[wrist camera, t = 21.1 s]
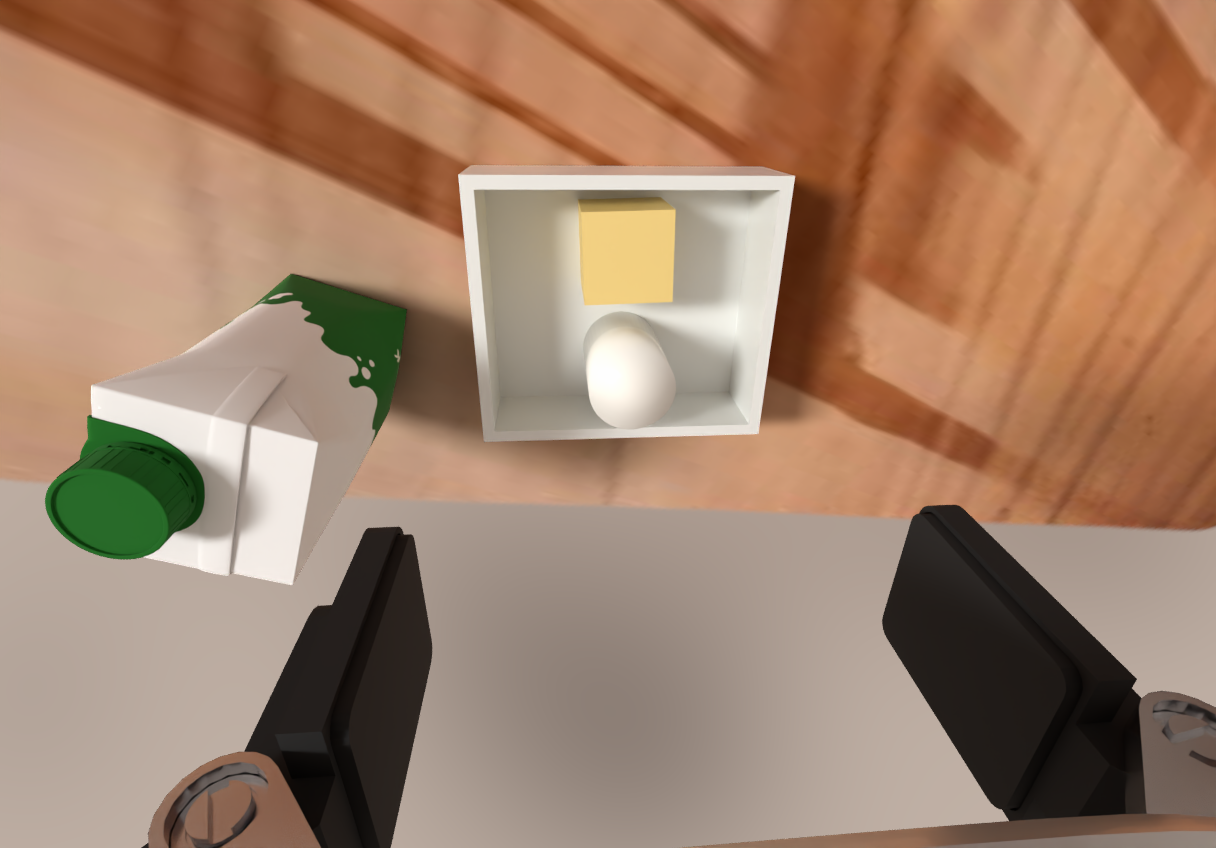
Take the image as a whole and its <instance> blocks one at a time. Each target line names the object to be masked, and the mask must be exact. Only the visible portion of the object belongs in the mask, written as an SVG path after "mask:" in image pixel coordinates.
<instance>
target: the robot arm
mask: <svg viewBox="0 0 1216 848" xmlns="http://www.w3.org/2000/svg"><path fill="white" fill-rule="evenodd" d="M882 624H883V630H884V633H885V635H886V637H887V639H888V640H889V642H890V644H891V645H892V647H893V648H894V650H895V652H896V653H897V655H898V657H899V658H900V660H901V661H902V663H903V664H904V666H905V667H906V669H907V671H908V672H909V674H910V675H911V677H912V679H913V680H914V682H915V684H916V685H917V687H918V688H919V690H920V692H921V693H922V695H923V696H924V698H925V699H926V701H927V703H928V704H929V706H930V707H931V709H932V711H933V712H934V714H935V715H936V717H937V719H938V720H939V722H940V723H941V725H942V727H943V728H944V730H945V731H946V733H947V735H948V736H949V738H950V739H951V741H952V743H953V744H954V746H955V747H956V749H957V750H958V752H959V754H960V755H961V757H962V758H963V760H964V761H965V763H966V765H967V766H968V768H969V770H970V771H971V773H972V774H973V776H974V778H975V779H976V781H977V782H978V784H979V785H980V787H981V789H982V790H983V792H984V793H985V795H986V796H987V798H988V799H989V801H990V802H991V804H993V805H994V806H995V807H996V808H998V809H1002V810H1003V812H1004V813H1005V815H1006V816H1007V818H1008V820H1009V821H1006V822H995V823H994V822H993V823H981V824H980V823H979V824H966V825H954V826H940V827H928V828H914V829H901V830H888V831H875V832H863V833H851V834H839V835H826V836H814V837H801V838H789V839H777V840H765V841H754V842H741V843H729V844H717V845H706V846H693V847H682V848H1216V707H1214V706H1212V705H1209V704H1207V703H1205V702H1203V701H1201V700H1199V699H1196V698H1193V697H1190V696H1187V695H1183V694H1180V693H1175V692H1167V691H1157V692H1151V693H1148V694H1147V695H1145V696H1144V697H1143V698H1141V697H1140V696H1139V695H1138V694H1137V693H1136V692H1135V691H1134V690H1133V689H1132V687H1133V685H1134V683H1135V682H1136V680H1137V679H1136V678H1135V677H1134V676H1133V675H1132V674H1131V673H1130V672H1129V671H1128V670H1127V669H1126V668H1125V667H1124V666H1123V665H1122V664H1121V663H1120V662H1119V661H1118V660H1117V659H1116V658H1115V657H1114V656H1113V655H1112V654H1111V653H1110V652H1109V651H1108V650H1106V648H1105V647H1104V646H1103V645H1102V644H1101V643H1100V642H1099V641H1098V640H1096V638H1095V637H1093V636H1092V635H1091V634H1090V633H1089V632H1088V631H1087V630H1086V629H1085V628H1084V627H1083V626H1082V625H1081V624H1080V623H1079V622H1078V621H1077V620H1076V619H1075V618H1074V617H1073V616H1072V615H1071V614H1070V613H1069V612H1068V611H1067V610H1066V609H1065V608H1064V607H1063V606H1062V605H1061V604H1060V603H1059V602H1058V601H1057V600H1056V599H1055V598H1054V597H1053V596H1052V595H1051V594H1050V593H1049V592H1048V591H1047V590H1046V589H1045V588H1043V586H1041V585H1040V584H1039V583H1038V582H1037V581H1036V580H1035V579H1034V578H1033V577H1032V576H1031V575H1030V574H1029V573H1028V572H1027V571H1026V570H1025V569H1024V568H1023V567H1022V566H1021V565H1020V564H1019V563H1018V562H1017V561H1016V560H1015V559H1014V558H1013V557H1012V556H1011V555H1010V554H1009V553H1008V552H1007V551H1006V550H1005V549H1004V548H1003V547H1002V546H1001V545H1000V544H999V543H998V542H997V541H996V540H994V538H993V537H992V536H991V535H989V534H988V533H987V532H986V531H985V530H984V529H983V528H982V527H981V526H980V525H979V524H978V523H977V522H976V521H975V520H974V519H973V518H972V517H971V516H970V515H969V514H968V513H967V512H966V511H965V510H964V509H963V508H961V507H960V506H958V505H937V506H926V507H924V508H923V509H922V510H921V511H920V513H919V514H916V515H915V516H914V517H913V518H912V521H911V524H910V527H909V531H908V534H907V538H906V541H905V544H904V547H903V551H902V554H901V558H900V561H899V564H898V568H897V571H896V574H895V578H894V582H893V584H892V588H891V591H890V594H889V598H888V602H887V604H886V608H885V611H884V615H883V619H882ZM431 659H432V641H431V634H430V628H429V623H428V617H427V611H426V605H425V600H424V593H423V588H422V582H421V577H420V570H419V564H418V559H417V552H416V547H415V541H414V537H413V535H404V534H403V531H402V529H401V528H400V527H383V528H368V529H366V531H365V532H364V534H363V537H362V539H361V541H360V543H359V546H358V548H357V550H356V552H355V554H354V557H353V559H352V561H351V564H350V566H349V568H348V570H347V573H346V575H345V577H344V580H343V582H342V584H341V586H340V588H339V591H338V593H337V595H336V597H335V600H334V602H333V604H332V605H326V606H317V607H316V608H315V609H313V611H312V612H311V614H310V616H309V617H308V619H307V621H306V623H305V625H304V628H303V630H302V632H301V634H300V636H299V638H298V640H297V642H296V644H295V646H294V649H293V651H292V653H291V655H290V657H289V659H288V661H287V663H286V665H285V667H284V669H283V672H282V674H281V676H280V678H279V680H278V682H277V684H276V686H275V688H274V691H273V693H272V695H271V697H270V699H269V701H268V703H267V705H266V707H265V709H264V711H263V713H262V716H261V718H260V720H259V722H258V724H257V726H256V728H255V730H254V732H253V734H252V736H251V739H250V741H249V743H248V745H247V747H246V749H245V751H244V752H237V753H232V754H228V755H224V756H221V757H218V758H216V759H214V760H212V761H210V762H208V763H206V764H204V765H202V766H200V767H199V768H197V769H196V770H194V771H193V772H192V773H190V774H189V775H188V776H186V777H185V778H183V779H182V780H181V781H180V782H179V783H178V784H177V785H176V786H175V787H174V788H173V789H172V790H171V791H170V792H169V793H168V794H167V795H166V797H165V798H164V800H163V801H162V803H161V805H160V806H159V808H158V809H157V811H156V812H155V814H154V816H153V819H152V822H151V826H150V829H149V832H148V843H147V844H146V845H145V846H143V847H142V848H390V847H391V844H392V839H393V834H394V829H395V825H396V820H397V816H398V812H399V807H400V802H401V797H402V793H403V789H404V784H405V779H406V774H407V770H408V766H409V761H410V757H411V752H412V747H413V743H414V738H415V734H416V729H417V725H418V720H419V715H420V710H421V706H422V701H423V697H424V692H425V688H426V683H427V679H428V674H429V670H430V665H431Z"/></svg>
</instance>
